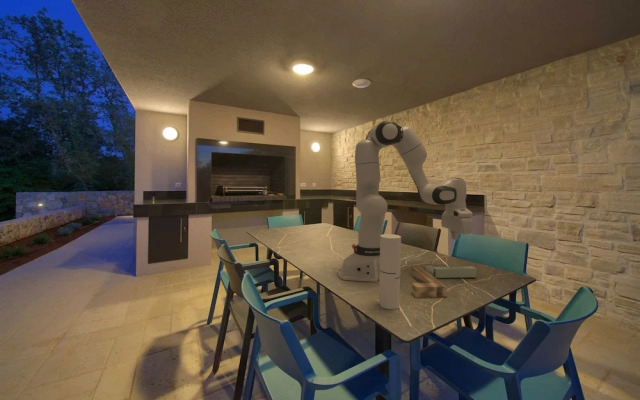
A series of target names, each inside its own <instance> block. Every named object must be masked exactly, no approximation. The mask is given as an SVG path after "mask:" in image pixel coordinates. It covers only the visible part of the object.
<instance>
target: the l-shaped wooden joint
mask: <svg viewBox="0 0 640 400" xmlns="http://www.w3.org/2000/svg"><path fill="white" fill-rule="evenodd" d="M410 269H411V272H410V273H411V274H410V275H411V276H412V277H413V278H414V279H416V281H418V282H412V283H411V294H412V295H413V296H414V297H415V298H447V295H448V293H447V292H448V287H447V285H445V283H442V282H441V281H440V280H439V279H438V278H435V277H433V276H432V275H430V274H429V273H428V272H426V269H424V268H423V267H421V266H416V265H415V266H414V265H413V266H411V268H410Z"/></svg>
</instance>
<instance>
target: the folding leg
mask: <svg viewBox="0 0 640 400" xmlns="http://www.w3.org/2000/svg"><path fill="white" fill-rule="evenodd" d="M425 271H426V272H428V273H429V274H430V275H432V276H433V277H434V278H436V279H438V278H439V279H445V278H447V279H448V278H449V279H452V278H453V279H454V278H476V277H477V268H476V267H474V266H470V265H469V266H468V265H467V266H462V265H461V266H460V265H459V266H457V265H456V266H434V265H431V264H430V265H429V264H427V265H425Z"/></svg>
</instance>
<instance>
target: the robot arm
mask: <svg viewBox="0 0 640 400" xmlns="http://www.w3.org/2000/svg"><path fill="white" fill-rule="evenodd" d="M389 146H392V147H393V148H394V149H395V150H397V154H398V155H400V158H401V159H402V162H404V165H405V166H406V169H407V171H408V174H409V175H410V178H411V180H412V181H413V183H414V185H415V187H416V189H417V195H418V199H419V200H420V201H421V202H422V204H424V205H425V204H426V205H436V206H443V205H445V209H444V211H443V213H442V214H441V220H440V221H441V222H440V223H441V228H445V229H448V230H449V233H450V235H451V239H452V240H455V241H458V240H459V236H460V234H463V235H469V234H471V233H472V230H473V219H472V217H473V216H474V215H473V214H474V213H473V212H472V211H471V210H469V209H468V207H467V203H466V200H467V183H466V180H464V179H463V178H459V177H448V178H447V179H446V180H444V181H443V182H441V183H437V184H433V183H430V181H429V179H428V178H427V175H426V174H425V172H424V169H423V165H424V163H425V162H426V160H427V156H428V153H427V149H426V147H425V145H424V144H423V142H422V140H421V139H420V137H419V136H418V135H417V133H416V131H414V130H413V129H412V128H411V127H410V126H408V125H405V126H401V125H399V124H398V123H397V122H395V121H392V120H389V119H388V120H383V121H381V122H380V123H378V124H376V125H374V126H373V127H372V128H371V129H370V130H369V131H368V133H367V135H366V138H365V139H362V140H359V141H358V142H357V143H356V146H355V150H354V164H355V165H354V166H355V178H356V180H355V181H356V189H355V190H356V193H355V200H356V201H355V204H356V208H357V210H358V212H359V213H360V222H359V226H358V229H357V231H358V232H357V233H358V234H357V235H358V236H357V237H358V238H357V239H358V240H357V241H358V244H357V245H356V244H355V243H353V244H351V248H352V249H353V253H351V254H350V255H349V256H347V257H345V258H344V259H343V262H342V265H341V267H339V268H338V269H337V272H336V275H337V276H338V278H339V279H340V280H344V281H354V282H355V281H356V282H371V283H373V282H374V283H376V282H378V281H379V280H380V235H383V226H384V222H385V218H386V216H385V215H386V214H387V211H388V202H387V200H386V199H385V198H384V197H383V196H382V195H381V194H379V190H380V182H381V167H380V157H379V154H380V150H382V149H383V148H384V149H385V148H387V147H389Z"/></svg>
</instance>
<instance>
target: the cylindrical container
mask: <svg viewBox="0 0 640 400" xmlns="http://www.w3.org/2000/svg"><path fill="white" fill-rule="evenodd" d="M401 248H402V236H401V235H398V234H393V233H386V234H384V233H382V235H380V279H379V280H378V281H379V288H378V289H379V291H378V298H379V299H378V305H379V304H380V305H379V306H380V307H382V308H383V309H387V310H397V309H398V308H400V302H401V301H400V300H401V263H402V262H401V261H402V260H401V258H402V257H401V255H402V251H401V250H402V249H401Z"/></svg>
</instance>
